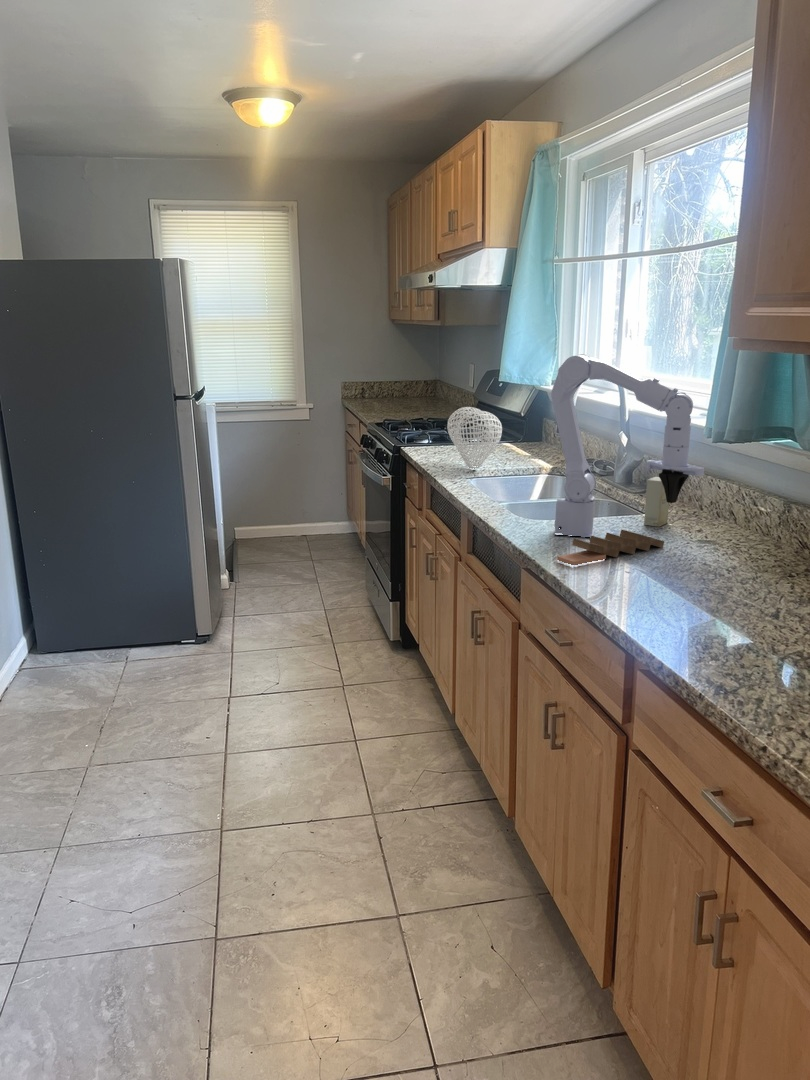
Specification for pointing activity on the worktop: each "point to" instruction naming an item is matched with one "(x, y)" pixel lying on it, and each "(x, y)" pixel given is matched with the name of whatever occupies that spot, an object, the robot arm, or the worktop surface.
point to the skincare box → (655, 503)
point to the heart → (458, 438)
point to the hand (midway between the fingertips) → (671, 502)
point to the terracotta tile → (581, 557)
